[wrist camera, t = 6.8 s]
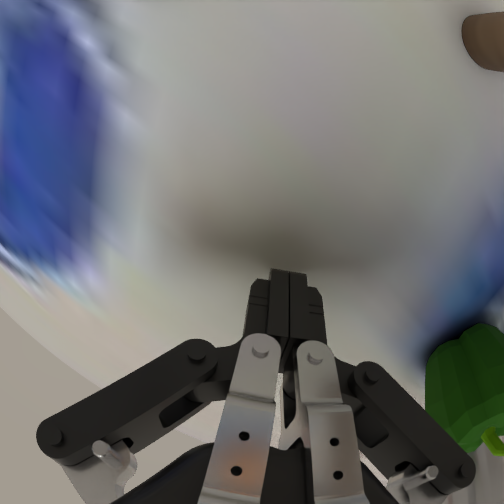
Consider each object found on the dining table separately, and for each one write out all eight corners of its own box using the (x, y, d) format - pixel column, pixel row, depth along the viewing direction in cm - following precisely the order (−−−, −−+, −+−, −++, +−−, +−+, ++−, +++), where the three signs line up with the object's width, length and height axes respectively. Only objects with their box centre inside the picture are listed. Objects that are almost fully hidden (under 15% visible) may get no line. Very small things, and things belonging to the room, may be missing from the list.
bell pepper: (424, 388, 20) (443, 489, 12) (397, 350, 17) (424, 490, 9) (504, 343, 16) (539, 440, 8) (501, 288, 13) (563, 416, 5)
